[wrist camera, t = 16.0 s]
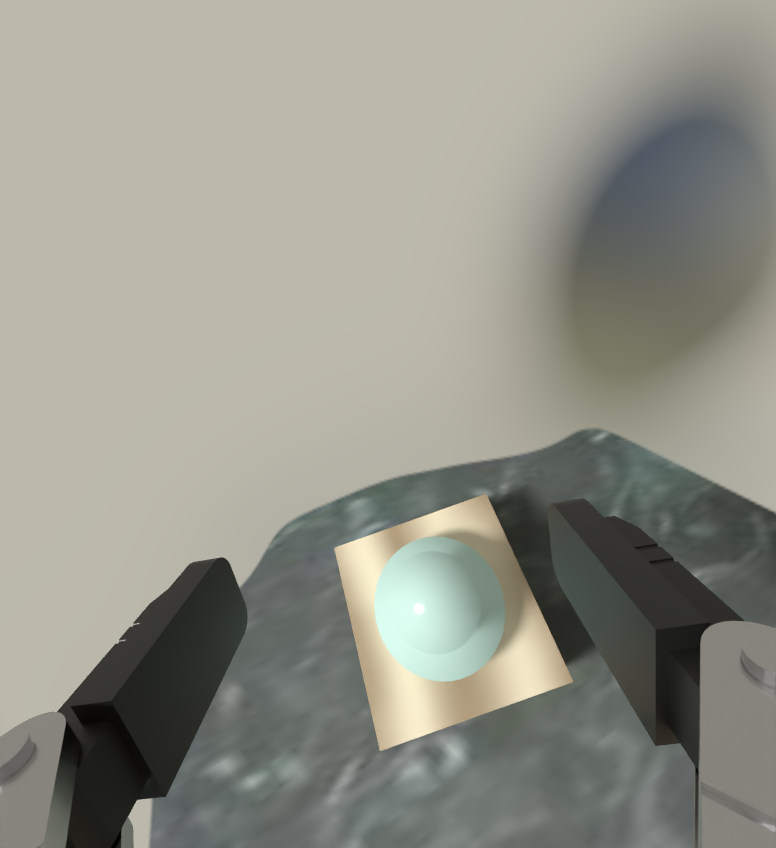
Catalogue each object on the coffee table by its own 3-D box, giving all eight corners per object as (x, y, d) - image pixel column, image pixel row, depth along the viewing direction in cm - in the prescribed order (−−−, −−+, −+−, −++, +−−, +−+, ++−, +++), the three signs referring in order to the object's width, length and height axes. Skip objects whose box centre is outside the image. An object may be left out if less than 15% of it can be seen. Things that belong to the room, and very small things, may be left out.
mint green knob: (483, 532, 26) (494, 502, 19) (517, 666, 22) (547, 690, 15) (373, 551, 26) (344, 529, 19) (388, 684, 23) (359, 716, 16)
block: (481, 510, 31) (486, 493, 27) (553, 670, 26) (573, 681, 21) (351, 557, 31) (334, 547, 27) (392, 727, 26) (380, 751, 21)
